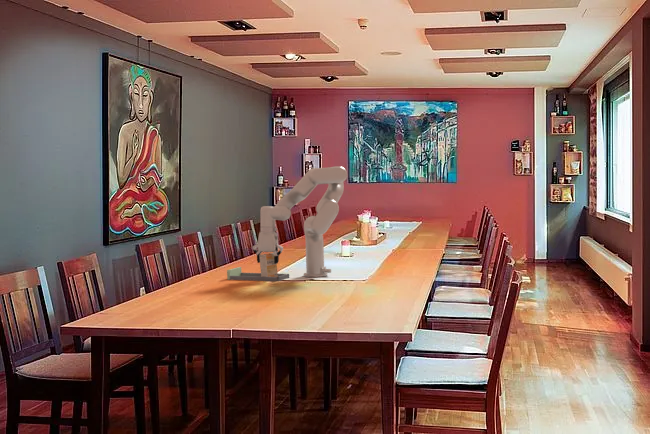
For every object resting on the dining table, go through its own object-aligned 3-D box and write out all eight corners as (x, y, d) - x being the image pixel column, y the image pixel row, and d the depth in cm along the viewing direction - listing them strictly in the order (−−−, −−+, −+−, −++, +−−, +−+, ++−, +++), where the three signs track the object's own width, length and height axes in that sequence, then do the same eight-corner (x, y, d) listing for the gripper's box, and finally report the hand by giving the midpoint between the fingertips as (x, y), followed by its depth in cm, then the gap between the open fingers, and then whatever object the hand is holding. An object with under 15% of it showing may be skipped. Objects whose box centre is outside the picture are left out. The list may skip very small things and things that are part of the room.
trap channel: (289, 277, 408) (288, 268, 408) (278, 281, 396) (278, 271, 396) (239, 276, 419) (238, 266, 419) (227, 279, 407) (227, 270, 407)
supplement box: (268, 279, 400) (265, 254, 400) (261, 279, 403) (258, 254, 403) (278, 277, 407) (276, 252, 407) (271, 277, 410) (269, 252, 410)
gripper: (286, 230, 404) (285, 263, 405) (256, 229, 410) (256, 261, 411) (279, 231, 397) (279, 264, 398) (249, 230, 403) (249, 263, 404)
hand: (267, 263), depth 404 cm, fingers open, 9 cm apart
